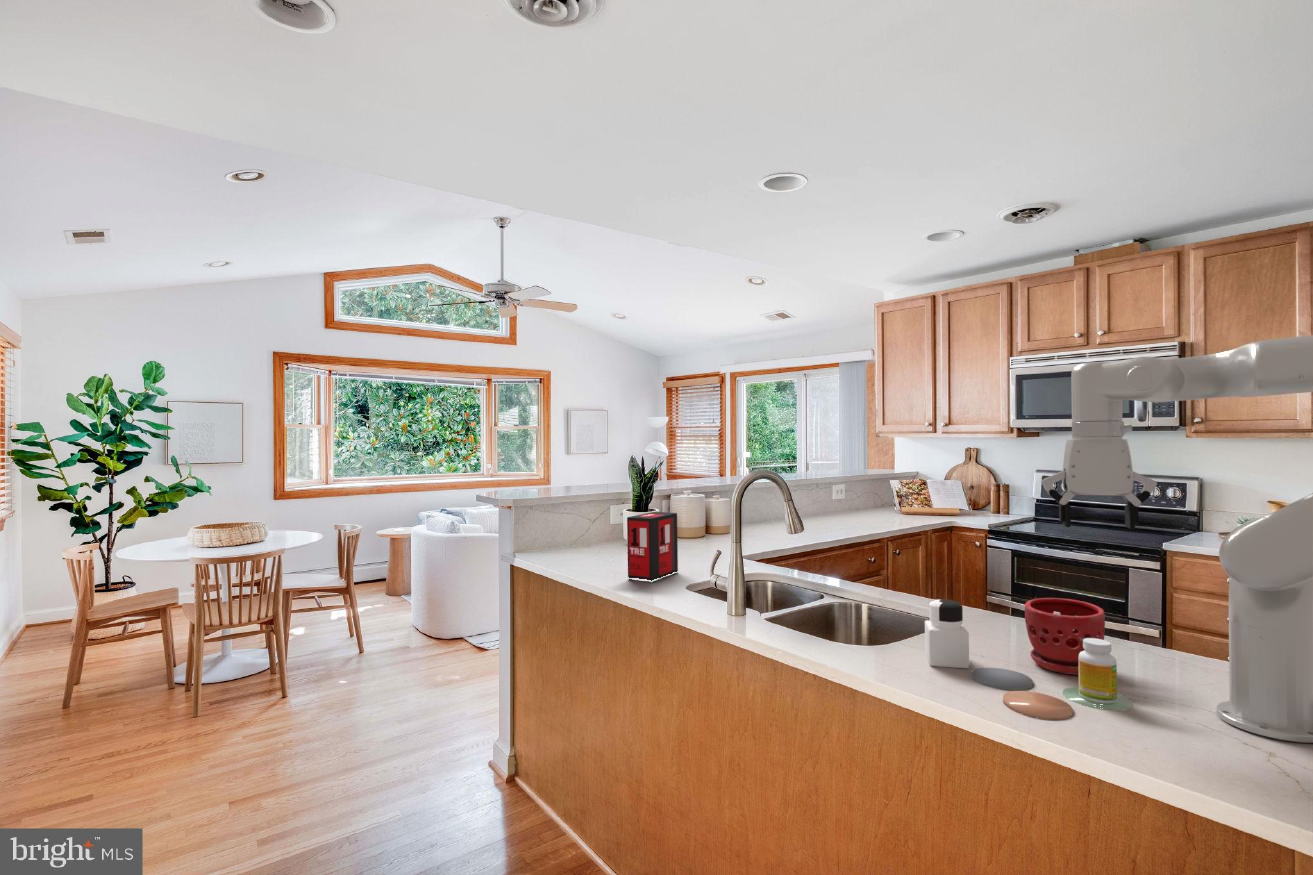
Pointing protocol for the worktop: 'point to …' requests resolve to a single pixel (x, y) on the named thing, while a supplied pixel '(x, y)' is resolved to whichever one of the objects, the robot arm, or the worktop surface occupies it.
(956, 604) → the medicine bottle
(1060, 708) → the peach coaster
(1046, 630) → the plant pot
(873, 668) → the worktop surface
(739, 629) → the worktop surface
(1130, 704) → the sage green coaster
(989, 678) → the slate grey coaster
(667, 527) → the cleaning product box
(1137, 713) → the worktop surface
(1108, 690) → the supplement bottle
